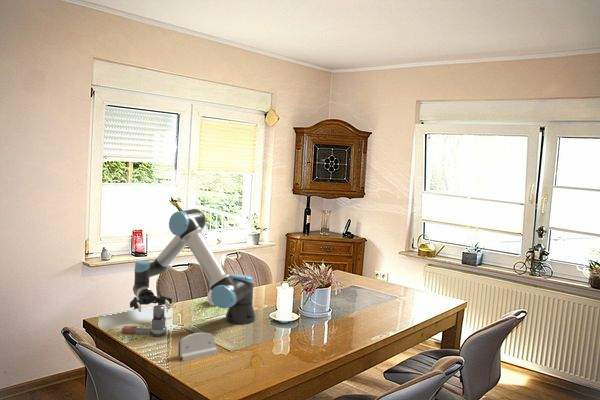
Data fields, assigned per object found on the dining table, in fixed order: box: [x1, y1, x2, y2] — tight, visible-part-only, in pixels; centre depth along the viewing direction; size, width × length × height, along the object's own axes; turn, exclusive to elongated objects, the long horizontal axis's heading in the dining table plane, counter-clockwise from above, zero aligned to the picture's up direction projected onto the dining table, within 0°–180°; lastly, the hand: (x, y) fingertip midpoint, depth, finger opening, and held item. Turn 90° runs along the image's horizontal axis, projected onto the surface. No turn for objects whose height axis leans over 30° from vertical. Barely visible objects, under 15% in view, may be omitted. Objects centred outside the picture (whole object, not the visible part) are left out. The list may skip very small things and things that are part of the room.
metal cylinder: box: [151, 304, 166, 330], centre depth 244 cm, size 5×5×10 cm
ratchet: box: [121, 325, 167, 338], centre depth 244 cm, size 20×7×6 cm, turn 90°
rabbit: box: [206, 289, 216, 306], centre depth 295 cm, size 12×9×12 cm
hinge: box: [177, 332, 219, 362], centre depth 224 cm, size 17×5×10 cm, turn 128°
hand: (154, 307), depth 251 cm, fingers open, 13 cm apart
